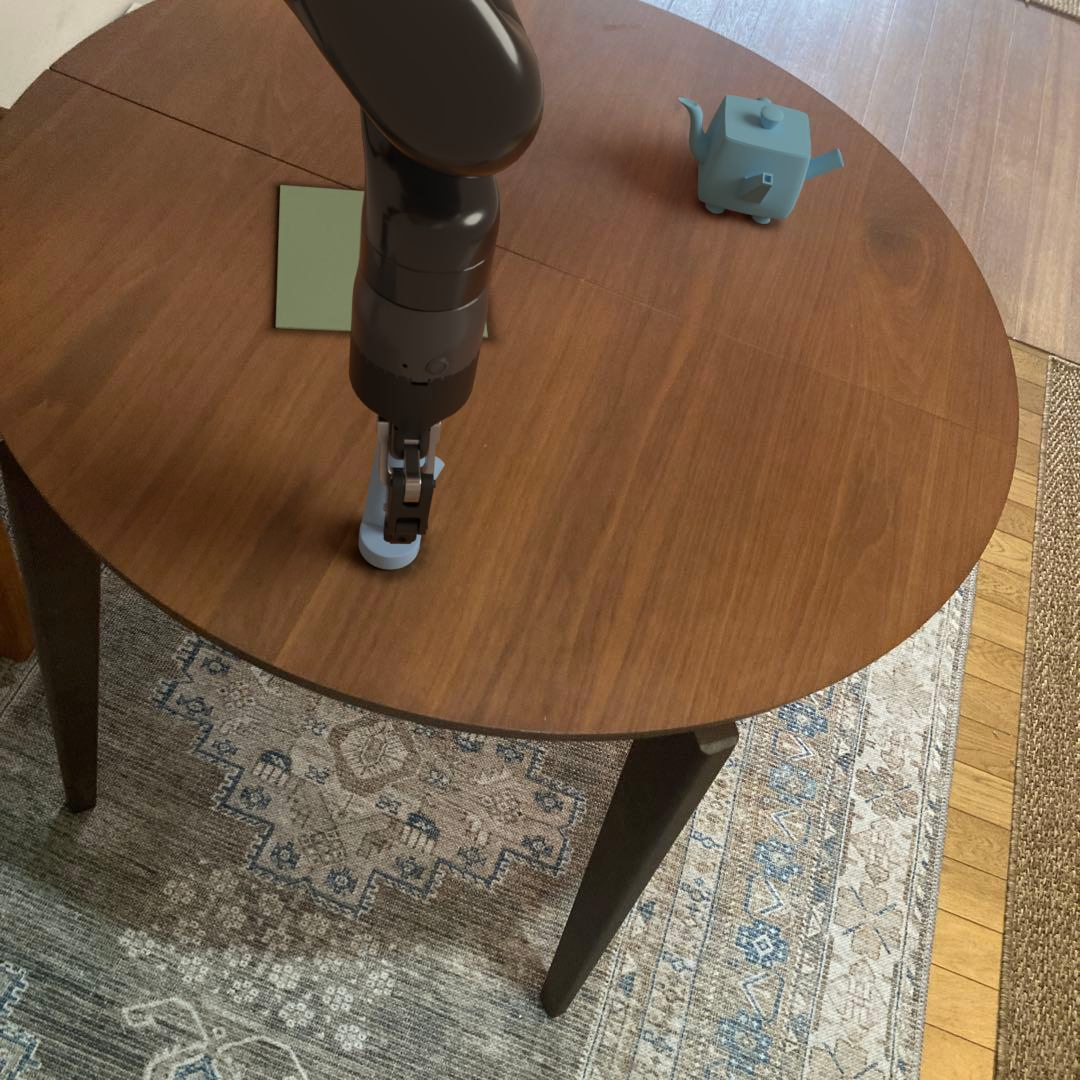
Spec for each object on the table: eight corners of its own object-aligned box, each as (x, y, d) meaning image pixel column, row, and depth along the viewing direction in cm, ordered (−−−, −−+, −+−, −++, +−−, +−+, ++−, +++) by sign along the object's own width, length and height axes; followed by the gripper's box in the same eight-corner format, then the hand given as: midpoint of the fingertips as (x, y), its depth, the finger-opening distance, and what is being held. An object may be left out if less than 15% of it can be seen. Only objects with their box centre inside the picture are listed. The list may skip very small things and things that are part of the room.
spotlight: (377, 493, 79) (342, 564, 76) (385, 409, 71) (346, 483, 67) (437, 515, 79) (405, 587, 76) (453, 433, 71) (418, 509, 67)
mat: (275, 328, 87) (275, 326, 87) (280, 186, 97) (280, 184, 96) (487, 337, 91) (487, 336, 91) (471, 200, 100) (472, 199, 100)
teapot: (815, 178, 113) (855, 95, 104) (822, 264, 105) (865, 182, 96) (655, 141, 111) (683, 53, 103) (649, 226, 103) (678, 138, 95)
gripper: (350, 234, 62) (342, 411, 76) (352, 421, 55) (343, 580, 68) (474, 243, 64) (445, 415, 77) (492, 426, 56) (457, 581, 70)
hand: (397, 492), depth 73 cm, fingers closed on spotlight, 7 cm apart
